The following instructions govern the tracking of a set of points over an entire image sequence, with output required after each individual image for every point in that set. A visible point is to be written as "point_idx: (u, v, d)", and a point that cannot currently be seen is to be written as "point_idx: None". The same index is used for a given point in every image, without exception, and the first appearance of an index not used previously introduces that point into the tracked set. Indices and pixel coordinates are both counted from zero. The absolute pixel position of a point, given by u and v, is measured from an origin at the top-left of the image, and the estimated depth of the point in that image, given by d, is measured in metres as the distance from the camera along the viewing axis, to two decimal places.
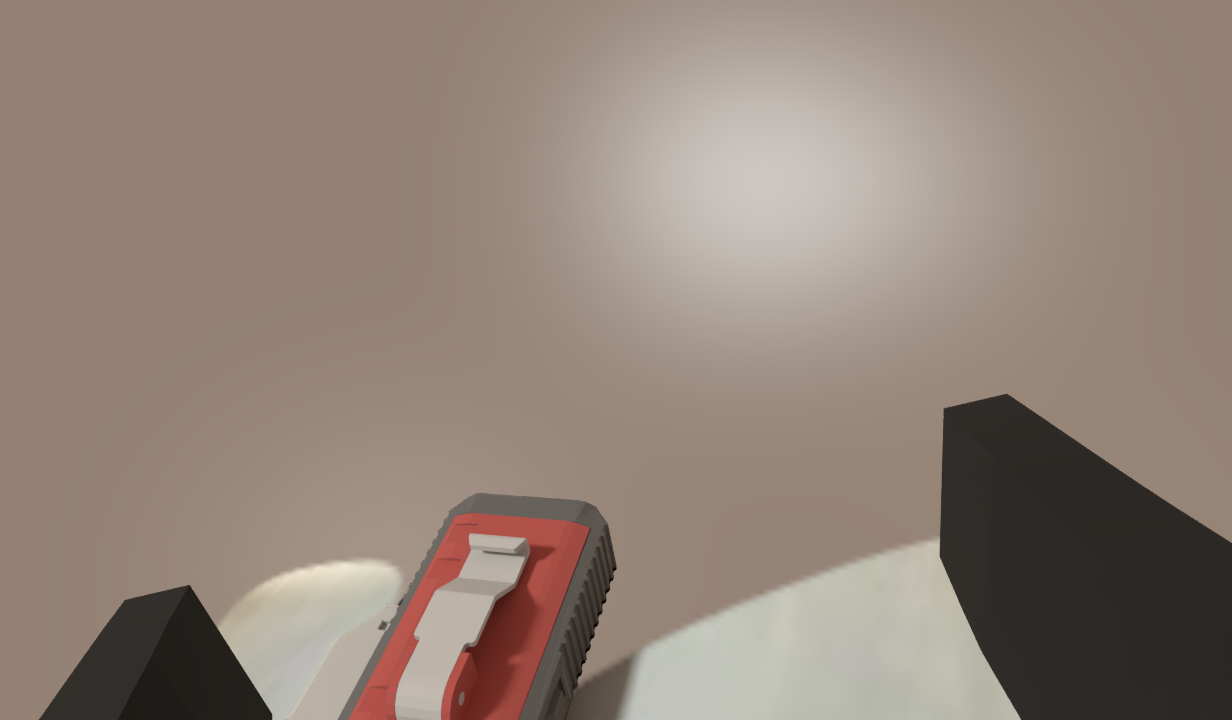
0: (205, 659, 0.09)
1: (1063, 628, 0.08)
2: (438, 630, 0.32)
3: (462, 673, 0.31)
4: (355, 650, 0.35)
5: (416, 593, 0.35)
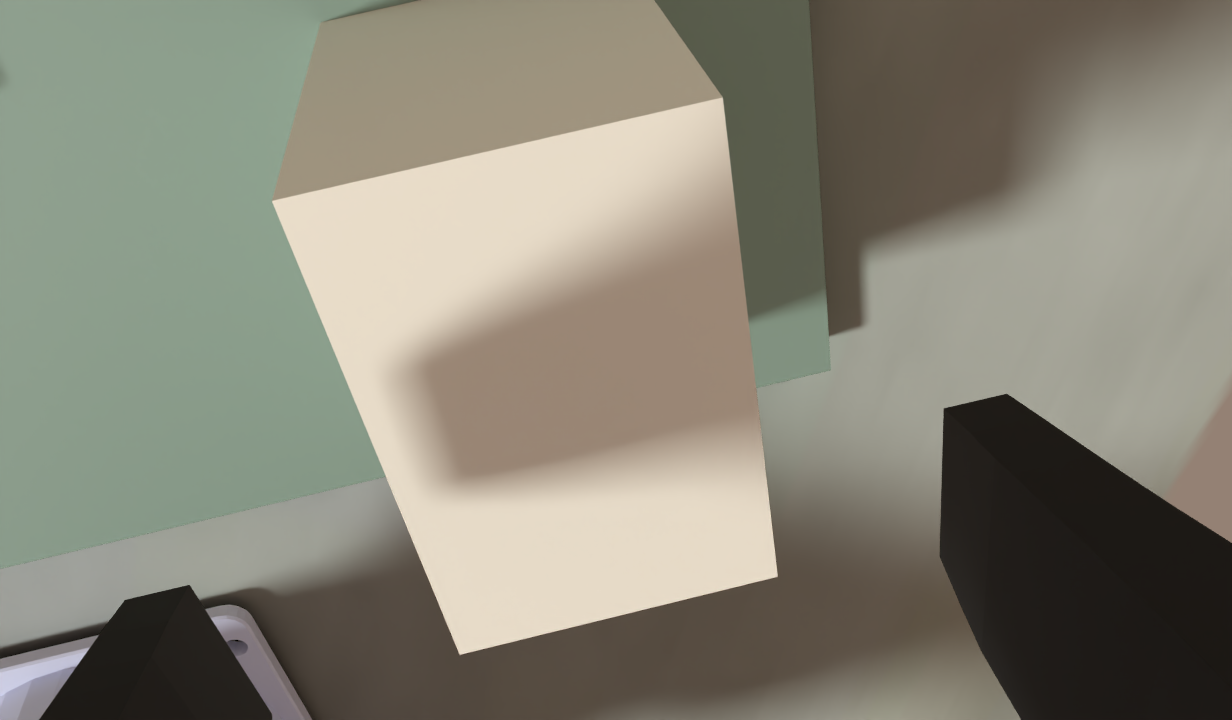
0: (207, 659, 0.09)
1: (1063, 629, 0.08)
2: None
3: None
4: None
5: None
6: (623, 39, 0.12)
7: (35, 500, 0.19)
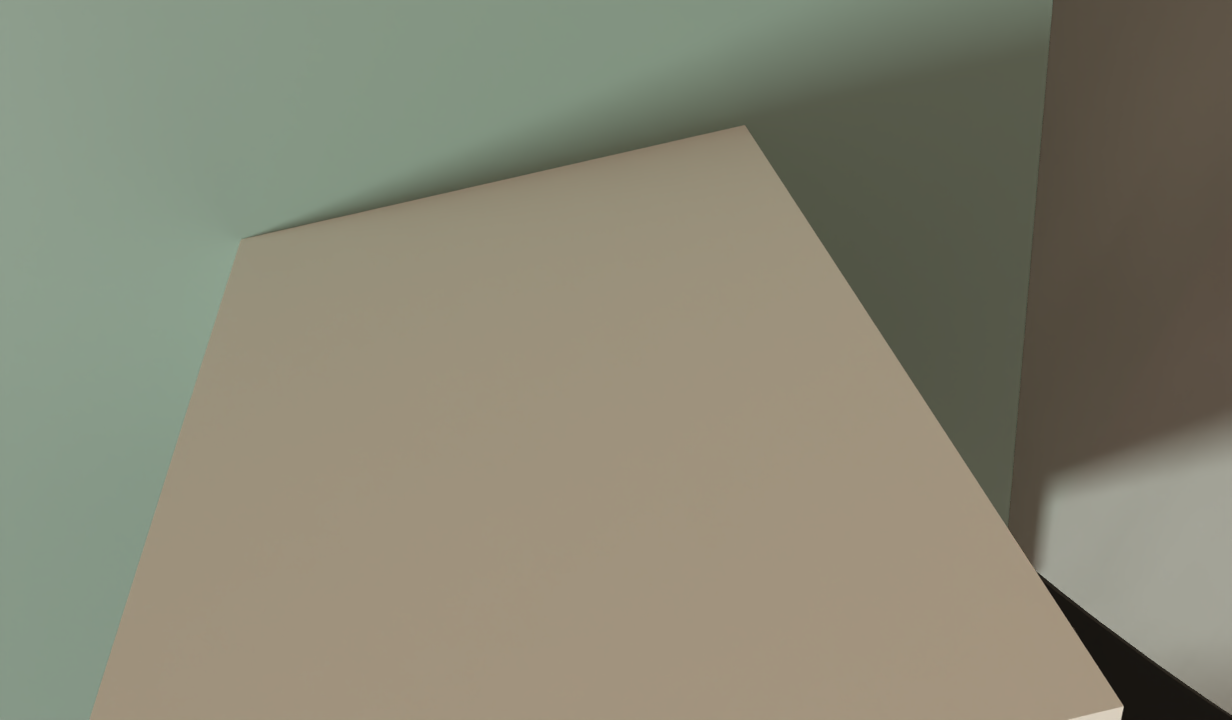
0: None
1: None
2: None
3: None
4: None
5: None
6: (801, 390, 0.06)
7: None
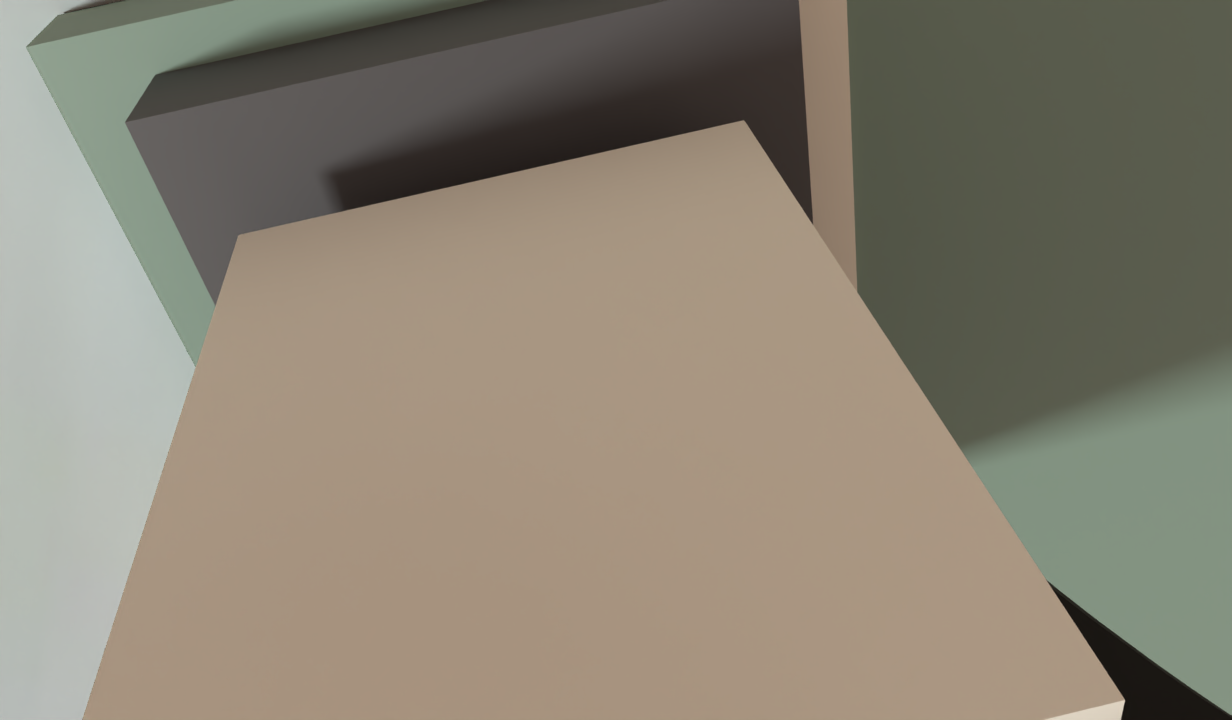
0: None
1: None
2: None
3: None
4: None
5: None
6: (801, 384, 0.06)
7: None
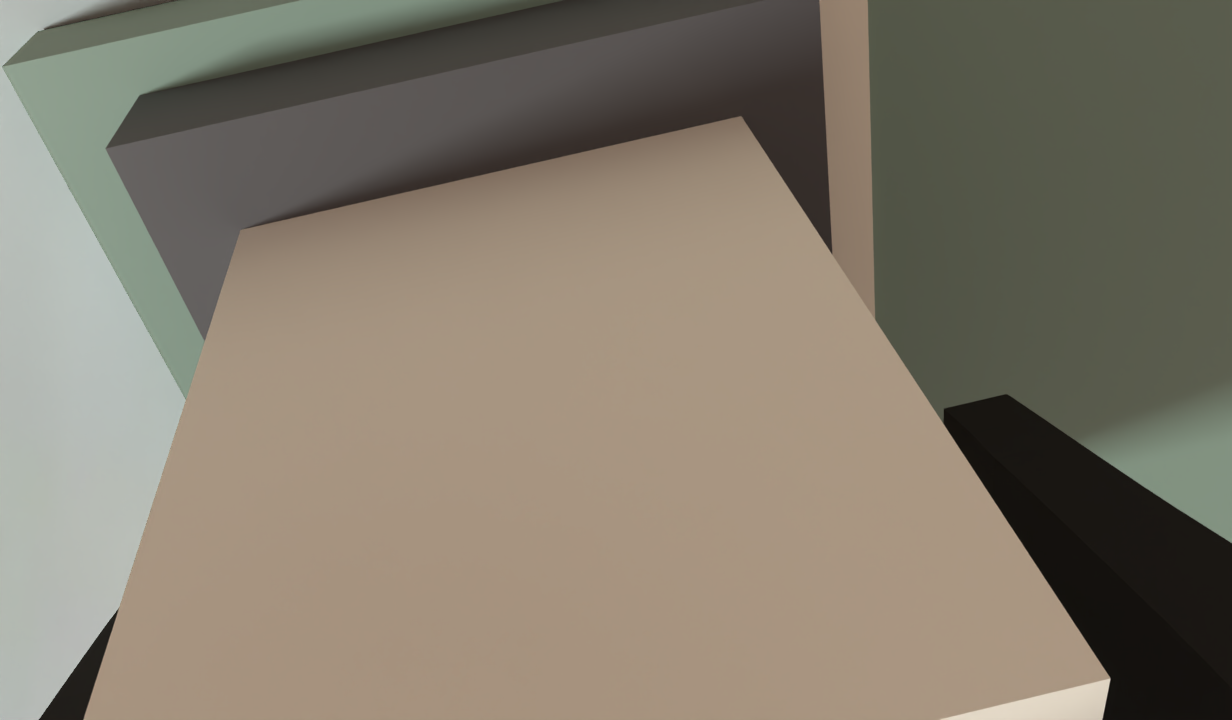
0: None
1: None
2: None
3: None
4: None
5: None
6: (796, 374, 0.06)
7: None
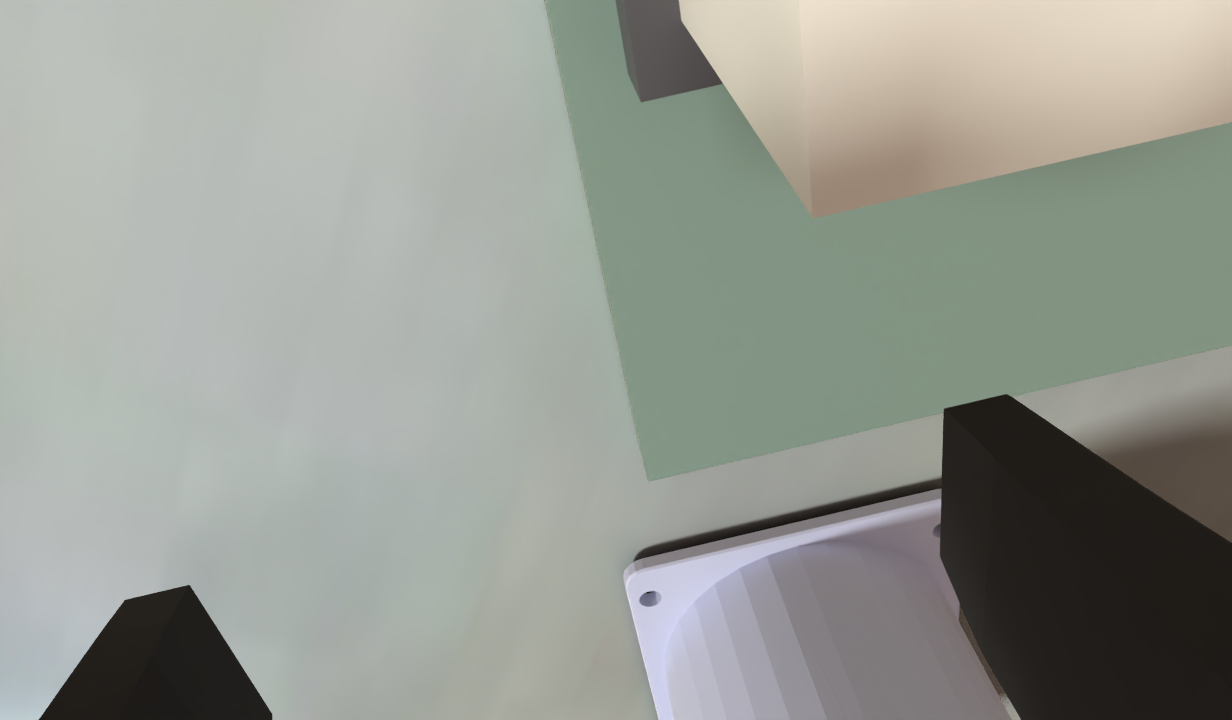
0: (206, 659, 0.09)
1: (1063, 628, 0.08)
2: None
3: None
4: None
5: None
6: None
7: (882, 374, 0.20)
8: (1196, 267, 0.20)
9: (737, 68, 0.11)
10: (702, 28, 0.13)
